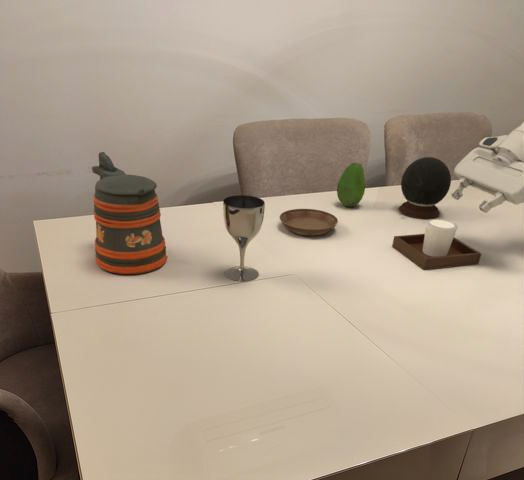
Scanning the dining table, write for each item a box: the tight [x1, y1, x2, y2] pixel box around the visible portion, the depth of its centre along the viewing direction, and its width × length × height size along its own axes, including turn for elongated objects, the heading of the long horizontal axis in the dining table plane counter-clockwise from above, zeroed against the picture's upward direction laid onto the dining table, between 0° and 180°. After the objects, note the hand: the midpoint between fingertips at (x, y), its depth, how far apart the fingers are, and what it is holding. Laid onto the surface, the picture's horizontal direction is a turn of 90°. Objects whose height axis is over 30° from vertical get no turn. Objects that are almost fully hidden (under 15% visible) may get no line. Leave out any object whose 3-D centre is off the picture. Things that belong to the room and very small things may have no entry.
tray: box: [391, 233, 482, 271], centre depth 117 cm, size 15×14×3 cm
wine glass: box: [222, 194, 266, 282], centre depth 100 cm, size 8×8×15 cm
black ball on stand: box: [398, 156, 452, 220], centre depth 139 cm, size 13×13×15 cm
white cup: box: [422, 218, 458, 257], centre depth 115 cm, size 7×7×7 cm
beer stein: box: [91, 151, 168, 275], centre depth 102 cm, size 19×15×20 cm
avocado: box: [336, 162, 366, 208], centre depth 142 cm, size 8×8×12 cm
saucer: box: [279, 208, 339, 237], centre depth 127 cm, size 15×15×3 cm
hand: (467, 203), depth 112 cm, fingers open, 8 cm apart
